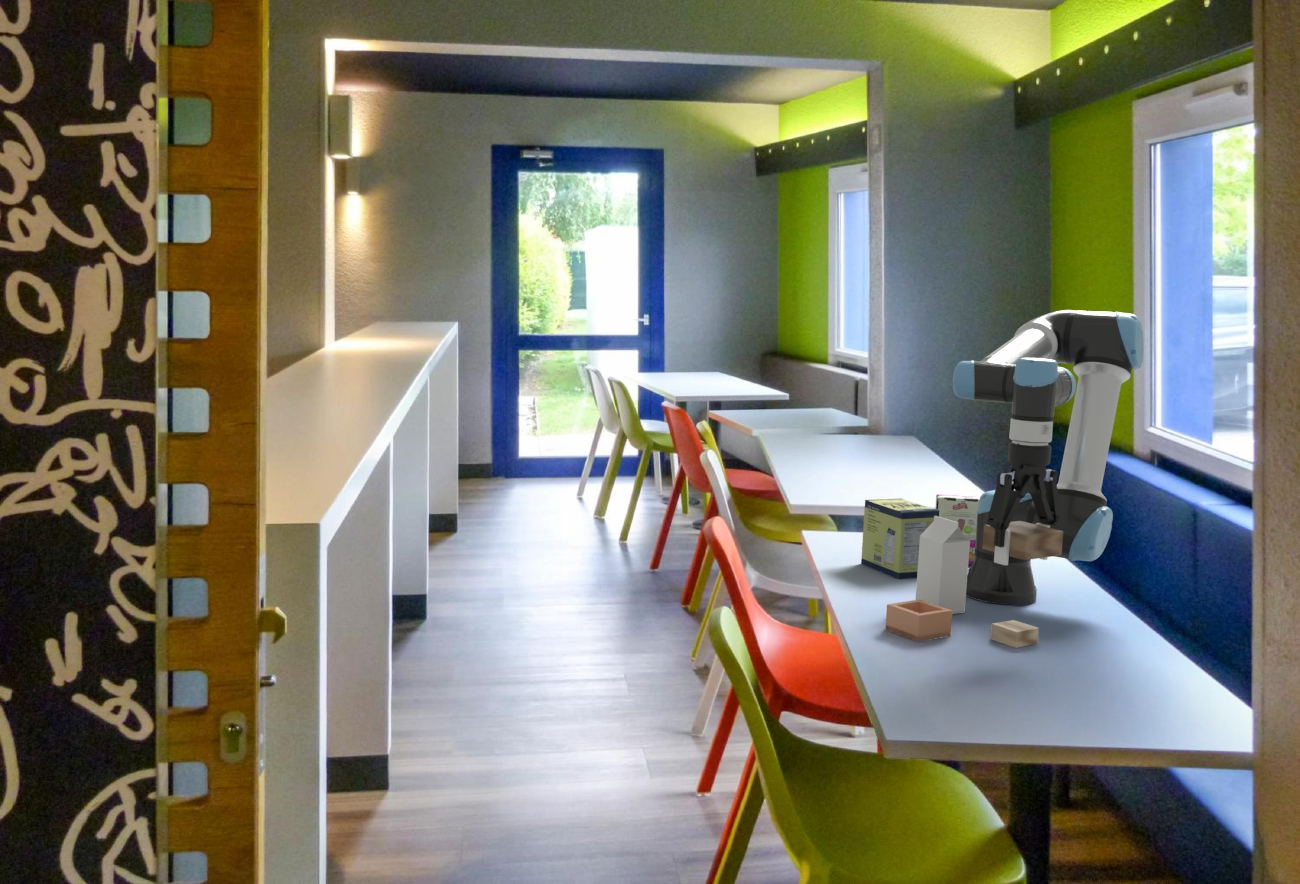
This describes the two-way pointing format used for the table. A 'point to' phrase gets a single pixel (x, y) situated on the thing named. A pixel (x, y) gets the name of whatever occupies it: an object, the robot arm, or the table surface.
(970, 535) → the candy bar box
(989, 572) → the robot arm
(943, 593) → the milk carton
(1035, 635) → the stand
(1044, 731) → the table surface
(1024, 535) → the brown box
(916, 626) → the open square box
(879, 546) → the protein box
